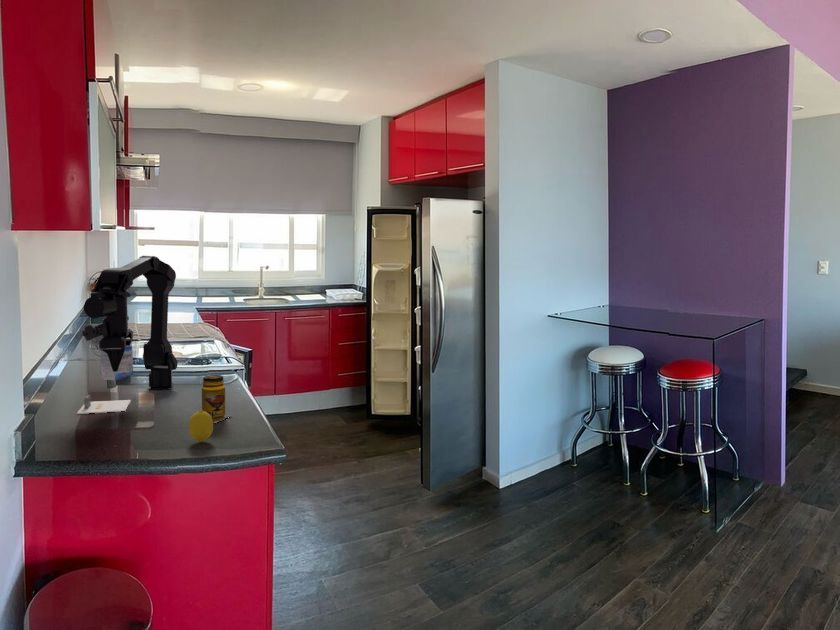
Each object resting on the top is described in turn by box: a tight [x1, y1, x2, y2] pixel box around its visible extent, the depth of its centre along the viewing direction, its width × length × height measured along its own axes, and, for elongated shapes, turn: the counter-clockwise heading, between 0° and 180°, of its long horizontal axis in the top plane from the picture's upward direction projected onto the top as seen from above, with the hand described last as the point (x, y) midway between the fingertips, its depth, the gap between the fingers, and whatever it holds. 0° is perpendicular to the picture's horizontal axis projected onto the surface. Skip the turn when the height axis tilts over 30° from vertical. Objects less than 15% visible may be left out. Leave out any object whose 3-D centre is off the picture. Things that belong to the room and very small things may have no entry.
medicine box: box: [100, 345, 134, 382], centre depth 172 cm, size 8×4×9 cm, turn 169°
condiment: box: [201, 374, 230, 422], centre depth 164 cm, size 7×8×12 cm
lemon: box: [188, 409, 214, 443], centre depth 145 cm, size 6×6×8 cm
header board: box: [76, 394, 132, 415], centre depth 172 cm, size 12×12×3 cm
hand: (117, 368), depth 172 cm, fingers closed on medicine box, 9 cm apart
